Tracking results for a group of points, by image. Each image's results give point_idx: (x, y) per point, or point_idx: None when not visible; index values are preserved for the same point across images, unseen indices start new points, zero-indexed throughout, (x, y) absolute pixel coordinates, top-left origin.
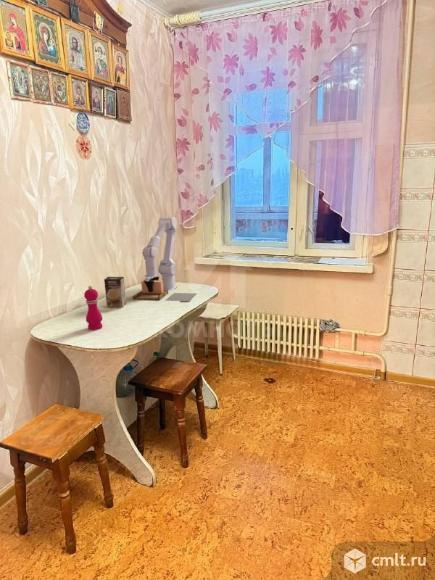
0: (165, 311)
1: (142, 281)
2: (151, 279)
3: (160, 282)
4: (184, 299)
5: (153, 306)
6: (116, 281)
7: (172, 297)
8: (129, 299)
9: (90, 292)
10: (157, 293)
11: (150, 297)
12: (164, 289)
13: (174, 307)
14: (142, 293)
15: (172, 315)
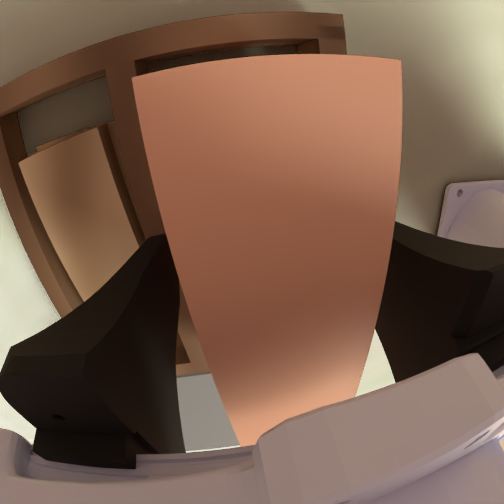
0: (13, 411)
1: (176, 119)
2: (439, 293)
3: None
4: (194, 437)
5: (5, 354)
6: None
7: (210, 392)
8: (24, 24)
9: None
10: (184, 326)
11: (77, 289)
12: (450, 225)
13: None
14: (116, 129)
15: None
